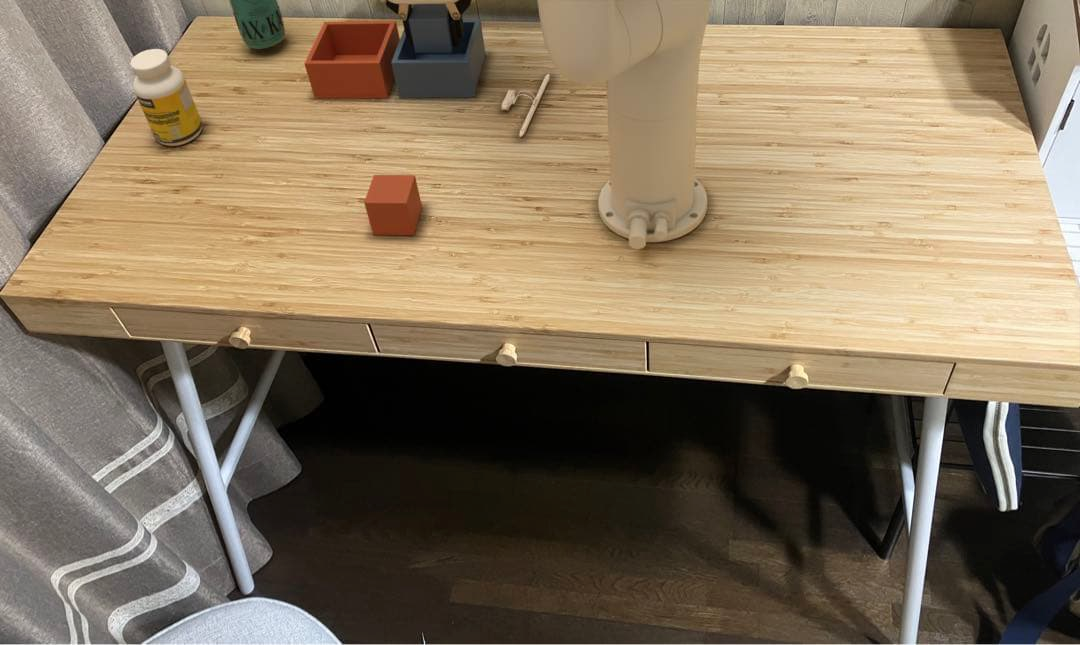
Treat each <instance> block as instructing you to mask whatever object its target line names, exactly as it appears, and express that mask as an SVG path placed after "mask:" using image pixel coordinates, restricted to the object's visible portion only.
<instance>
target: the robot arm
mask: <svg viewBox="0 0 1080 645" xmlns="http://www.w3.org/2000/svg"><path fill="white" fill-rule="evenodd" d="M378 1H379V2H380V3H382V4H385V6H386V7H387V8H388V9H389V10H391V11H392V12H393V13H395V15H397V17H398V19H399V20H400V21H402V24H403V30H405V35H406V38H409V39H410V44H411V47H414V44H413V39H412V34H411V29H410V24H409V18H410V15H411V13H412V10H413V5H415V4H445V5H446V7H447V9H448V11H449V13H450V18H449V28H450V34H451V40H452V45H453V46H454V47H458V44H459V41H460V38H461V37H464V25H463V20H464V19H463V14H464V12H466V11H467V9H469V7H471V5H472V4H473V3H474V2H475V1H476V0H378ZM536 1H537V9H538V15H539V16H538V17H539V24H540V29H541V34H542V39H543V43H544V45H545V48H546V51H547V53H548V56H549V58H550V60H551V62H552V63H553V65H554V67H555V68H556V70H557V71H558V72H559V73H560V74H561V75H562V76H563V78H565V79H566V80H567V81H570V82H571V83H572V84H575V85H579V86H586V87H588V86H589V87H590V86H597V85H600V84H603V83H606V88H605V89H606V107H607V108H606V109H607V110H606V112H607V130H608V132H607V133H608V148H609V149H608V154H609V174H610V176H609V177H610V178H609V180H608V181H607V182H606V183H605V184H604V186H602V188H601V191H600V192H599V195H598V198H597V199H598V201H597V205H598V206H597V207H598V213H599V217H600V219H601V221H602V222H603V224H604V225H605V226H606V227H607V228H608V229H609V230H611V231H612V232H614V233H615V234H616V235H618V236H620V237H623V238H625V239H628V245H629V247H630V248H632V249H634V250H640V249H641V250H642V249H643V248H645V247H646V245H647V243H660V242H667V241H672V240H675V239H678V238H681V237H683V236H685V235H687V234H690V232H692V231H694V230H695V229H696V228H698V226H699V225H700V224H701V223H702V222H703V220H704V218H705V216H706V214H707V211H708V202H709V201H708V194H707V191H706V189H705V187H704V186H703V184H702V183H701V181H699V180H698V179H697V178H696V175H695V174H696V150H697V149H696V147H697V118H698V116H697V115H698V114H697V113H698V95H699V94H698V93H699V72H700V62H701V53H702V52H701V51H702V46H703V41H704V37H705V33H706V29H707V25H708V21H709V16H710V13H711V12H710V10H711V4H712V0H536Z"/></svg>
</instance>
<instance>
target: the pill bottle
mask: <svg viewBox="0 0 1080 645" xmlns="http://www.w3.org/2000/svg"><path fill="white" fill-rule="evenodd" d="M130 67H131V69H132V72H133V74H134V75H135V77H134V79H133V82H132V89H133V93H134V94H135V96H136V99H137V101H138V103H139V106H140V107H141V111H142V113H143V114H144V117H145V119H146V121H147V123H148V126H149V128H150V130H151V132H152V134H153V137H154V138H155V140H156V141H157V142H158V143H159V144H161V145H165V146H169V147H170V146H171V147H174V146H181V145H186V144H187V143H189V142H191V141H194V140H195V139H196V138H197V137H198V136H199V135H200V133H201V132H202V129H203V121H202V119H201V116H200V114H199V111H198V109H197V105H196V104H195V100H194V99H193V96H192V93H191V90H190V88H189V86H188V83H187V81H186V79H185V76H184V73H183V72H182V70H180V69H179V68H178V67H176V66H173V65H172V63H171V59H170V57H169V55H168V53H167V51H166V50H164V49H160V48H151V49H146V50H143V51H141V52H139V53H137V54H136V55H134V56H133V57H132V58H131V60H130Z"/></svg>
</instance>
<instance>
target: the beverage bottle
mask: <svg viewBox="0 0 1080 645" xmlns="http://www.w3.org/2000/svg"><path fill="white" fill-rule="evenodd" d="M229 5H230V7H231V9H232V12H233V14H232V15H233V17H234V20H235V24H236V26H237V29H238V32H239V35H240V38H241V41H243V42H244V44H245V45H246V46H247V47H248V48H251V49H256V50H257V49H258V50H259V49H261V50H262V49H267V48H270V47H271V48H272V47H273V46H276V45H277V44H279V43H280V42H282V41H283V39H284V38H285V36H286V35H285V34H286V26H285V22H284V19H283V15H282V13H281V10H280V9H281V8H280V6H279V3H278V0H229Z"/></svg>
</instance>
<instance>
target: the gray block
mask: <svg viewBox="0 0 1080 645" xmlns="http://www.w3.org/2000/svg"><path fill="white" fill-rule="evenodd" d="M412 8H413V10H412V13H411V15H410V18H409V24H410V29H411V34H412V39H413V44H414V49H415V53H452V50H453V47H454V46H453V45H452V40H451V34H450V28H449V18H450V13H449V11H448V9H447V7H446V5H445V4H413V6H412Z"/></svg>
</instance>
